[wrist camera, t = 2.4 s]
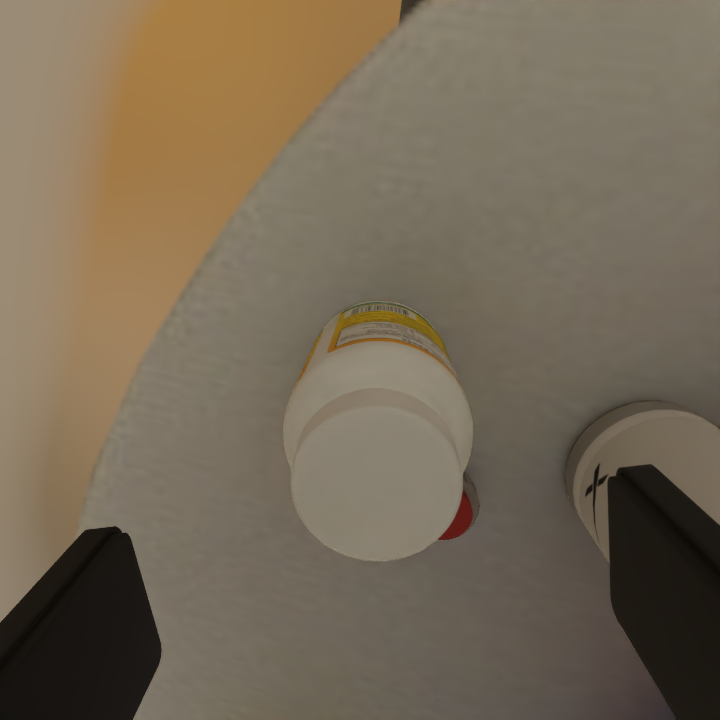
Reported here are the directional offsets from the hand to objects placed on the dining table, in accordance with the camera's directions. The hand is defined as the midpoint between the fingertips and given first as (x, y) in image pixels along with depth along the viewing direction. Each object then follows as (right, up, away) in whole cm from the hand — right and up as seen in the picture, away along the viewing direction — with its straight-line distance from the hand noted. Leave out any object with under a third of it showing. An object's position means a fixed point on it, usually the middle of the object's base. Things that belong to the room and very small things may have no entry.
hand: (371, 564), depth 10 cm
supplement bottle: (0, +4, +11) cm, 12 cm away
